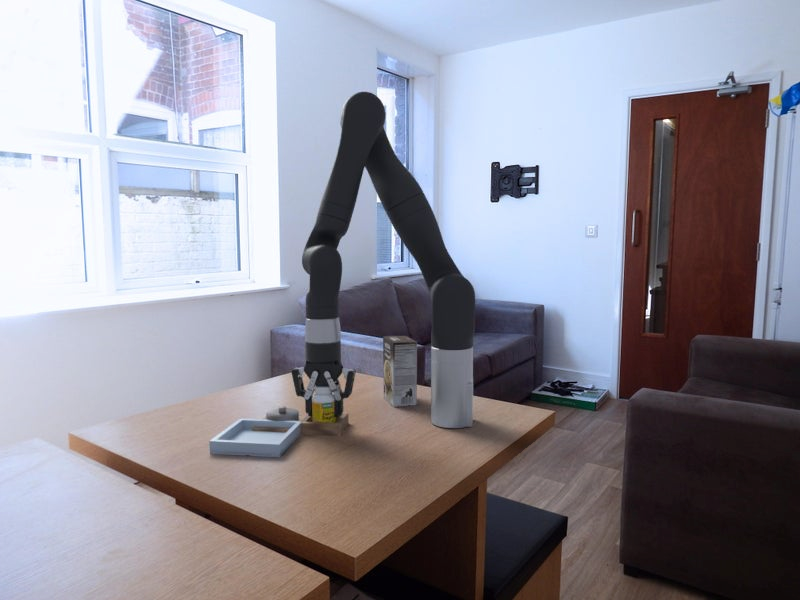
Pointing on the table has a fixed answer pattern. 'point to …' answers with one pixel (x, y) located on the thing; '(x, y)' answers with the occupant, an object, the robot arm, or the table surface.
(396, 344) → the coffee box
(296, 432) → the tray
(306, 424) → the block
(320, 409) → the supplement bottle
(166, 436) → the table surface
